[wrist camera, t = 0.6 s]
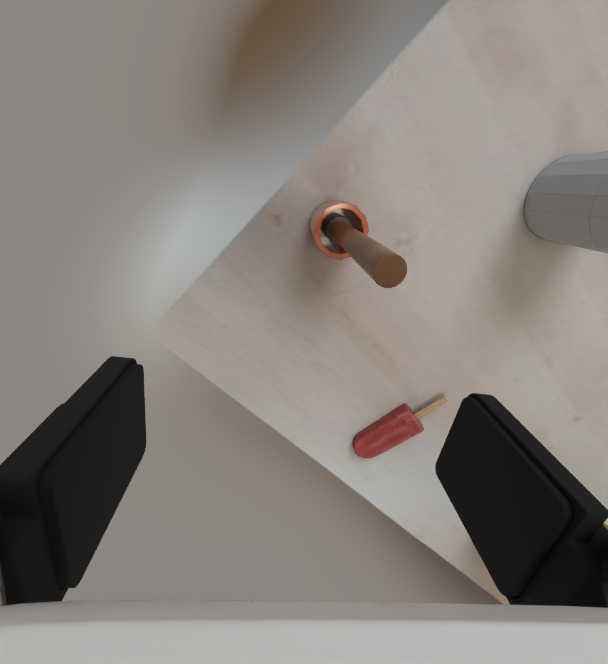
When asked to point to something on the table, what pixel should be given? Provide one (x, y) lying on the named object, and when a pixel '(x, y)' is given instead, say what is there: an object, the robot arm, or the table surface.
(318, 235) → the pen cup
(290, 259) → the table surface
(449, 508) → the table surface
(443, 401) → the popsicle
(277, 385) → the table surface
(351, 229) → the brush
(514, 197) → the table surface
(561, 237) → the grey hollow cylinder
